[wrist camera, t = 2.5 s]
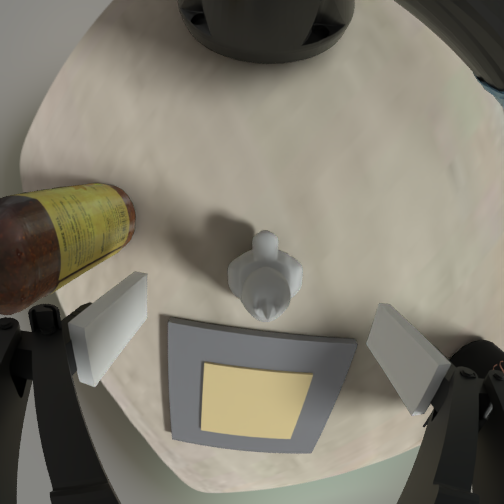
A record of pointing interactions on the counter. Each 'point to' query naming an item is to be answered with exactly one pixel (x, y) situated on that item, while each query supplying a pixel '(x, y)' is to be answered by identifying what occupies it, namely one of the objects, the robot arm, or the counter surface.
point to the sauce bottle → (58, 238)
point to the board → (252, 386)
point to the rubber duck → (265, 278)
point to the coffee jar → (480, 358)
